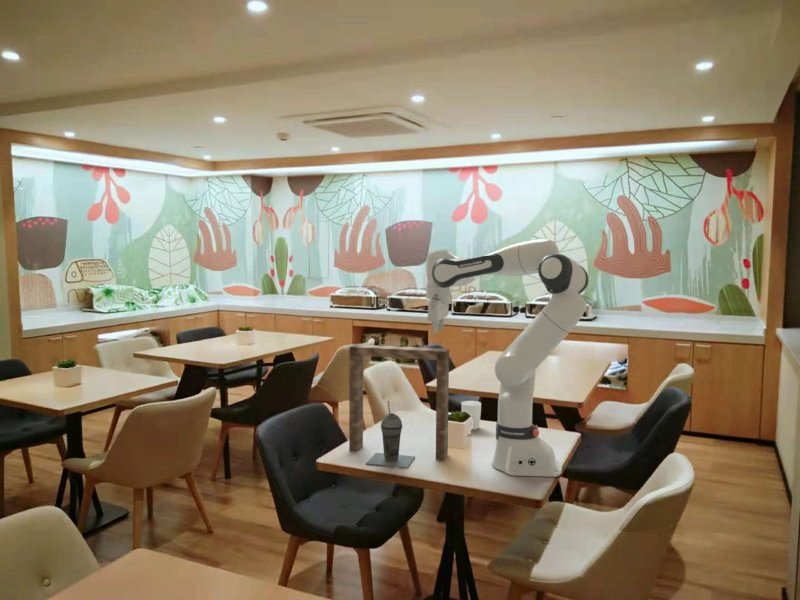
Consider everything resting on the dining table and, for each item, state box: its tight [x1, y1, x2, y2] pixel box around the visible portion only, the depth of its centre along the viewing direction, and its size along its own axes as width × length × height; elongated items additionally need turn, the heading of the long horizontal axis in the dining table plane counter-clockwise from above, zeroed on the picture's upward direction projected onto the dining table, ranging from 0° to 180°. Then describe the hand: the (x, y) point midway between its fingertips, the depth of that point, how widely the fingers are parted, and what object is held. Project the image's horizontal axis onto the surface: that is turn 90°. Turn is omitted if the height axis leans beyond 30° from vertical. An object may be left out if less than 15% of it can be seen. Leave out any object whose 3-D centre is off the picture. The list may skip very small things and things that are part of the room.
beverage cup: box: [380, 400, 403, 462], centre depth 200 cm, size 7×7×20 cm
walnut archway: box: [348, 343, 450, 461], centre depth 208 cm, size 34×6×37 cm, turn 75°
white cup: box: [461, 400, 482, 431], centre depth 240 cm, size 8×8×10 cm
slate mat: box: [365, 452, 416, 469], centre depth 201 cm, size 14×11×1 cm
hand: (438, 331), depth 221 cm, fingers open, 8 cm apart
